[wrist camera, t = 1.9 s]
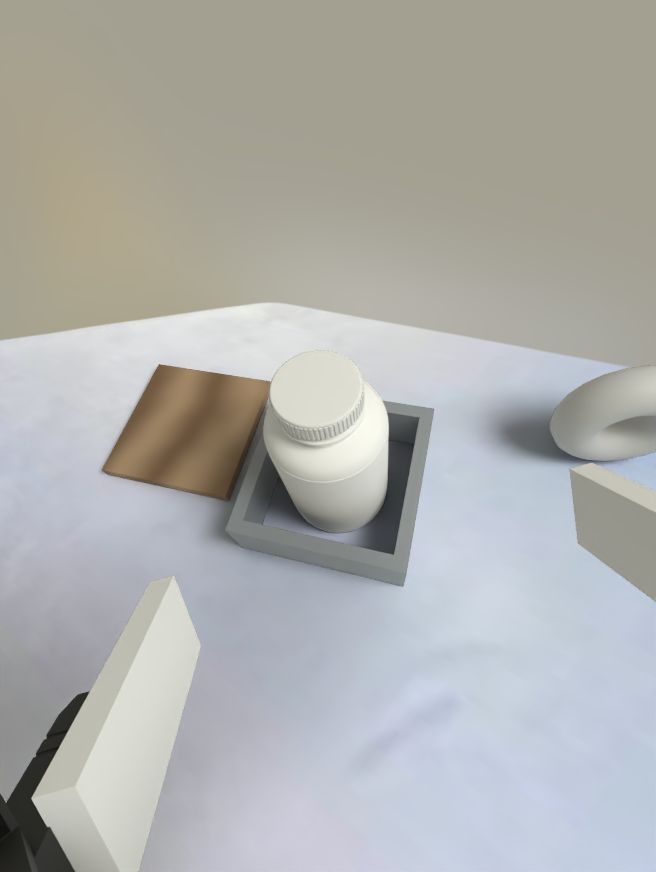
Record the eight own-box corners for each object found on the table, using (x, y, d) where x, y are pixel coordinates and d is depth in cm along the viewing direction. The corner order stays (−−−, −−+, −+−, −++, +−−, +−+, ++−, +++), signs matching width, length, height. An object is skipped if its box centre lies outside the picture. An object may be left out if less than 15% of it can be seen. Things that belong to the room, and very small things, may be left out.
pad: (108, 474, 40) (102, 469, 39) (163, 370, 46) (159, 364, 45) (228, 501, 38) (225, 496, 37) (272, 387, 43) (269, 381, 42)
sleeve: (242, 547, 35) (224, 530, 32) (288, 412, 41) (279, 384, 37) (403, 586, 33) (406, 573, 29) (428, 436, 39) (434, 408, 35)
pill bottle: (273, 492, 38) (217, 391, 25) (339, 431, 40) (319, 309, 27) (339, 557, 34) (314, 480, 21) (407, 487, 37) (422, 379, 24)
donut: (653, 428, 37) (737, 350, 28) (668, 466, 35) (762, 395, 27) (529, 433, 38) (573, 358, 29) (537, 469, 36) (587, 402, 27)
